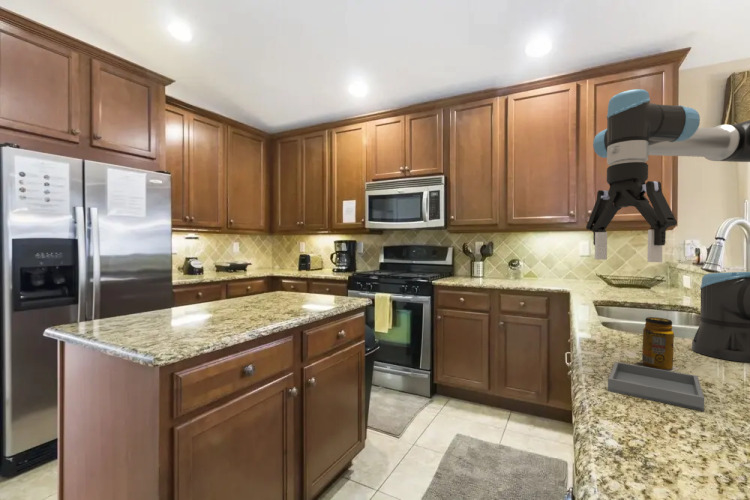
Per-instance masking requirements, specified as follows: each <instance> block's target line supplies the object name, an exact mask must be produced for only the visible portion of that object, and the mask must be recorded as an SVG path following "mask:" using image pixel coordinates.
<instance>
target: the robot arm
mask: <svg viewBox="0 0 750 500" xmlns="http://www.w3.org/2000/svg"><path fill="white" fill-rule="evenodd" d="M650 101H651V98H650V93H649V92H648V91H647V90H646V89H642V88H638V89H628V90H625V91H622V92H619V93H617V94H615V95H613V96H612V97H611V98H610V99H609V100H608V105H607V115H606V119H607V121H606V122H607V124H606V125H607V126H606V127H607V128H605V129H603V130H601V131H599V132H597V134H596V135H595V136H594V139H593V143H592V146H593V150H594V153H596V155H597V156H598V157H600V158H603V159H606V164H607V165H608V166H607V168H606V183H607V184H608V186H609V188H608V190H605V189H604V190H603V189H602V190H601V189H600V190H599V189H598V190H597V193H596V201H595V203H594V206H593V208H592V210H591V213H590V216H589V218H588V222H587V224H586V227H585V229H586V230H588V231H591V232H592V233H593V246H594V260H600V261H601V260H608V231H606V229H607V227H608V226H609V225H610V223H611V221H612V220H613V219H614V217H615V216H616V214H617V213H618V211H620V210H621V209H623V208H629V207H634V208H635V209H636V210H637V211H638V212H639V214H640V215H641V216H642V217H643V219H644V220H645V221H646V222H647V223H648V225H649V226H650V227H649V229H648V230H647V263H662V262H663V246H665V245H666V232H667V231H666V230H667V229H668V228H670V227H672V226H673V227H675V226H677V224H678V222H677V219H676V217H675V215H674V214H673V211H672V209H671V207H670V205H669V204H668V201H667V199H666V197H665V196H664V193H663V191H662V189H663V188H662V183H661V182H660V181H655V180H654V181H652V180H651V181H650V180H649V181H647V180H648V178H649V164H648V163H647V162H648V161H649V156H661V157H662V156H664V157H665V156H666V157H667V156H668V157H692V158H693V157H698V158H699V157H701V158H704V159H706V160H708V161H712V162H730V163H731V162H733V163H734V162H735V163H750V119H749V120H745V121H741V122H738V123H734V124H719V125H716V126H714V127H700V124H701V123H700V121H701V117H700V114H699V112H698V111H697V110H696V109H695V108H693V107H689V106H684V105H671V104H669V105H668V104H657V103H651V102H650ZM646 181H647V182H646ZM645 194H646V196H647V197H648V198H647V197H646V196H645ZM699 290H700V322H699V326H698V327H697V330H696V332H695V335H694V337H693V339H692V342H691V350H692V351H693V352H696V353H698V354H701V355H703V356H708V357H710V358H711V357H712V358H716V359H722V360H726V361H727V360H728V361H733V362H741V363H742V362H743V363H750V271H737V272H735V271H731V272H727V271H726V272H711V273H706V274H704V275H703V276H702V278H701V286H700V289H699Z"/></svg>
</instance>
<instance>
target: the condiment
mask: <svg viewBox="0 0 750 500" xmlns="http://www.w3.org/2000/svg"><path fill="white" fill-rule="evenodd" d="M644 320H645V324H644V328H643V329H642V354H641V355H642V360H641V361H638V362H635V363H632V365H638V366H644V367H649V368H655V369H661V370H667V371H672V372H676V371H677V370H679V369H680V367H677V366H674V341H675V339H674V338H675V333H674V331H673V320H672V319H668V318H665V317H664V318H663V317H656V316H654V317H653V316H650V317H649V316H648V317H646V318H645V319H644Z"/></svg>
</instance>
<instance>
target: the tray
mask: <svg viewBox="0 0 750 500" xmlns="http://www.w3.org/2000/svg"><path fill="white" fill-rule="evenodd" d="M632 364H633V363H632ZM632 364H631V363H626V362H620V361H614V364H613V365H612V369H611V370H610V373H609V375H608V379H607V391H608V392H611V393H616V394H621V395H624V396H632V397H635V398H640V399H645V400H649V401H653V402H658V403H663V404H667V405H671V406H676V407H680V408H685V409H691V410H695V411H699V412H704V411H705V396H704V393H703V389H702V387H701V382H700V378H699V376H698V375H694V374H689V373H684V372H683V373H682V372H678V371H667V370H661V369H655V368H649V367H644V366H638V365H632Z"/></svg>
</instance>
